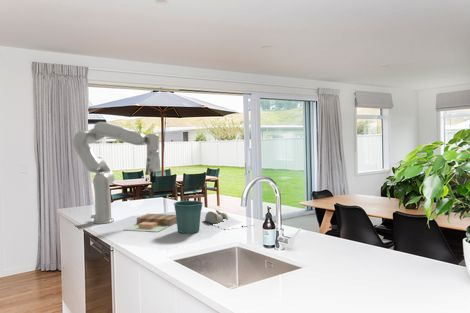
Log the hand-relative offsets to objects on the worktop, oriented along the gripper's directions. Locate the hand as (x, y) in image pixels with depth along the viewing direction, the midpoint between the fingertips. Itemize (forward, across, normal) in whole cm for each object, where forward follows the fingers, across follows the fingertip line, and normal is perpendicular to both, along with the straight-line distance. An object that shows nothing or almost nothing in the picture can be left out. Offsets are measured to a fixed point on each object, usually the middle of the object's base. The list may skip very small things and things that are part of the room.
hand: (152, 182), depth 241 cm
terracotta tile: (+22, -17, -7) cm, 29 cm away
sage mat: (+25, -18, -6) cm, 31 cm away
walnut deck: (+25, -3, -6) cm, 26 cm away
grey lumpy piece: (+25, +8, -46) cm, 53 cm away
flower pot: (+25, -18, -33) cm, 45 cm away
